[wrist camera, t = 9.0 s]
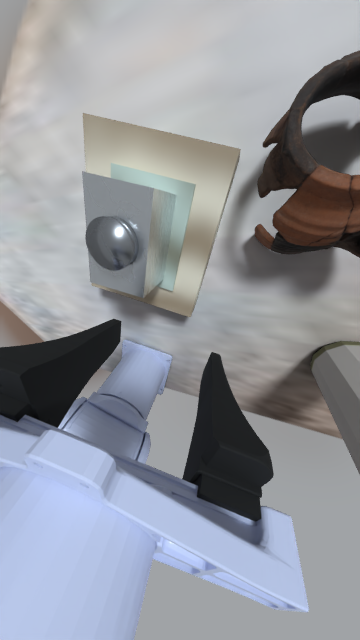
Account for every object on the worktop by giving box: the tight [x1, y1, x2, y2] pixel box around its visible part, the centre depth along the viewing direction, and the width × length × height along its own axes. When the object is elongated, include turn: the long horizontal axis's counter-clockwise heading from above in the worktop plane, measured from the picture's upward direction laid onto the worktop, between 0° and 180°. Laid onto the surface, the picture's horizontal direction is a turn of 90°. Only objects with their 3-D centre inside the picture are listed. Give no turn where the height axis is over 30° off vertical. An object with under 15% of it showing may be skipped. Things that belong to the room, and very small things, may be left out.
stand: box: [83, 113, 240, 317], centre depth 18 cm, size 14×12×3 cm
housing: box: [82, 171, 177, 298], centre depth 14 cm, size 7×4×6 cm, turn 168°
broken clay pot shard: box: [255, 51, 360, 258], centre depth 13 cm, size 12×10×8 cm
